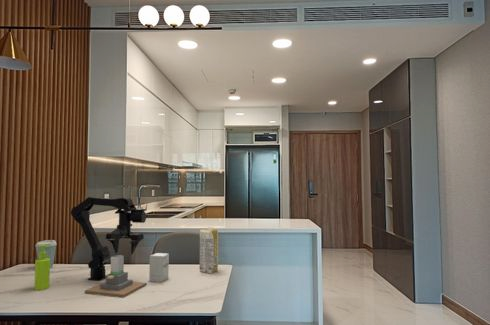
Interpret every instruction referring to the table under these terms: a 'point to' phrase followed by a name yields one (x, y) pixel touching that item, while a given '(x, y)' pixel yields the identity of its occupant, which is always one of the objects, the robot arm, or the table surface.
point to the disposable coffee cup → (48, 250)
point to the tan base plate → (116, 286)
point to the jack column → (117, 265)
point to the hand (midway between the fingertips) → (124, 253)
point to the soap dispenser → (42, 269)
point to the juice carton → (208, 250)
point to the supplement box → (159, 267)
